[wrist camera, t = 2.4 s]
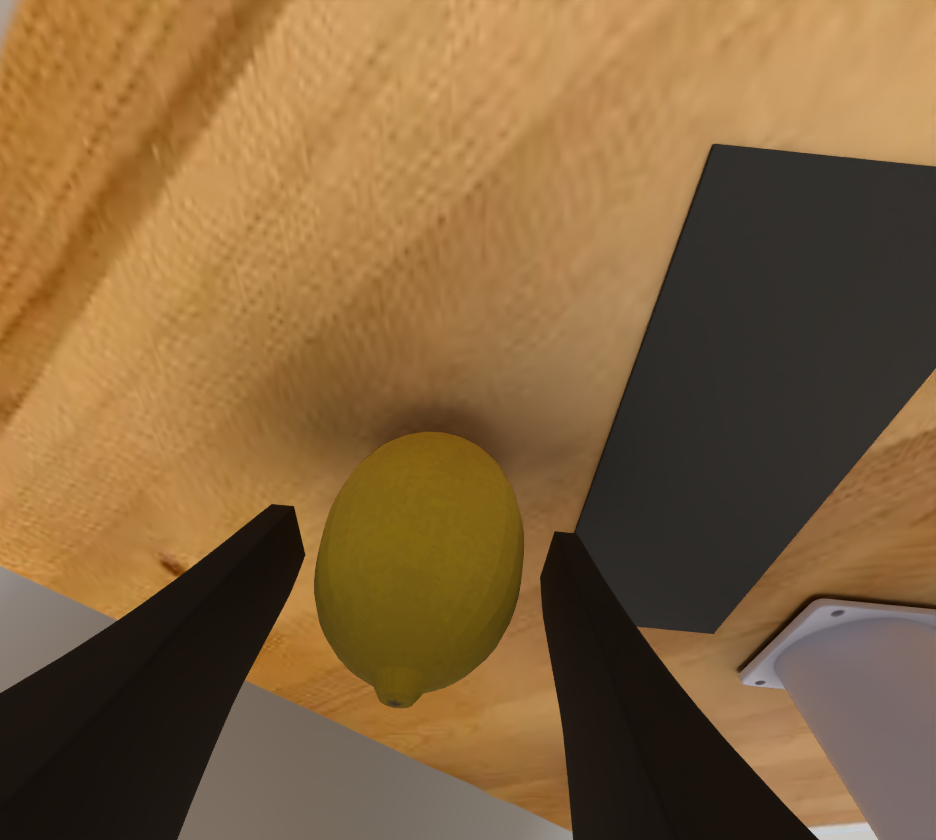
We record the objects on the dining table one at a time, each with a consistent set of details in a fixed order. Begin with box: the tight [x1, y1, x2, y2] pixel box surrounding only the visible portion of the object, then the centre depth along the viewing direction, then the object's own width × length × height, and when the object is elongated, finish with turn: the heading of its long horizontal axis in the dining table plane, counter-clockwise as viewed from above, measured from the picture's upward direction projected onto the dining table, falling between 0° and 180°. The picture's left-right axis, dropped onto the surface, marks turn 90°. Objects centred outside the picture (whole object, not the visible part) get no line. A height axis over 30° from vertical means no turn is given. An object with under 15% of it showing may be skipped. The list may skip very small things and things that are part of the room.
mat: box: [575, 144, 936, 634], centre depth 14 cm, size 9×20×1 cm, turn 175°
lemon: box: [314, 431, 524, 708], centre depth 10 cm, size 6×6×8 cm
